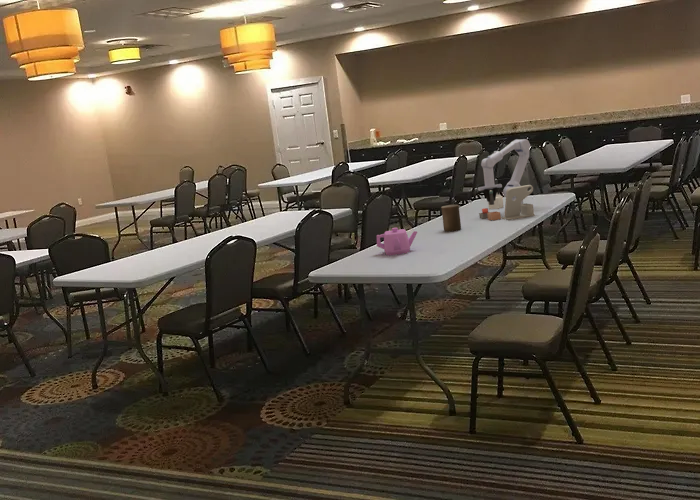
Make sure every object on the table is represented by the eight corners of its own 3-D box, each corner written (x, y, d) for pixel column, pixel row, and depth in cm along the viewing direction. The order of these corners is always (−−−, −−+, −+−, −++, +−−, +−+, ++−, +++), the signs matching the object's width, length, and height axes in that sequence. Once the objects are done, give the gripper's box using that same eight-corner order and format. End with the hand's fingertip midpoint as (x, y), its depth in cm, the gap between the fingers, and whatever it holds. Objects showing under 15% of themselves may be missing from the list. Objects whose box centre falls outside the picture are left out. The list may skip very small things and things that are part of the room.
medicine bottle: (493, 207, 468) (491, 188, 466) (503, 206, 463) (501, 188, 461) (488, 209, 462) (486, 190, 460) (499, 208, 458) (497, 190, 456)
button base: (488, 216, 434) (487, 211, 433) (492, 217, 428) (491, 212, 428) (479, 218, 433) (479, 213, 432) (483, 219, 427) (482, 214, 427)
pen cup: (496, 218, 424) (496, 211, 423) (500, 219, 419) (500, 212, 418) (488, 219, 423) (487, 212, 422) (491, 220, 418) (491, 213, 417)
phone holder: (527, 213, 426) (524, 183, 422) (536, 215, 416) (533, 184, 413) (500, 218, 421) (497, 188, 418) (509, 220, 412) (506, 189, 408)
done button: (486, 212, 432) (486, 208, 431) (489, 213, 429) (488, 208, 428) (481, 213, 431) (481, 208, 431) (483, 214, 428) (483, 209, 427)
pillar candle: (460, 230, 399) (458, 203, 396) (443, 232, 401) (440, 205, 399) (461, 227, 408) (459, 201, 406) (444, 229, 411) (441, 203, 408)
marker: (495, 204, 431) (493, 190, 430) (490, 205, 431) (488, 191, 429) (493, 203, 434) (491, 190, 433) (488, 204, 434) (486, 191, 432)
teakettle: (396, 247, 376) (393, 224, 374) (421, 248, 364) (418, 224, 361) (373, 255, 365) (370, 231, 362) (398, 256, 352) (395, 231, 350)
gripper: (497, 176, 435) (499, 198, 438) (475, 179, 432) (477, 202, 435) (502, 176, 428) (504, 199, 431) (479, 180, 425) (482, 203, 428)
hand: (491, 201), depth 432 cm, fingers closed on marker, 3 cm apart
